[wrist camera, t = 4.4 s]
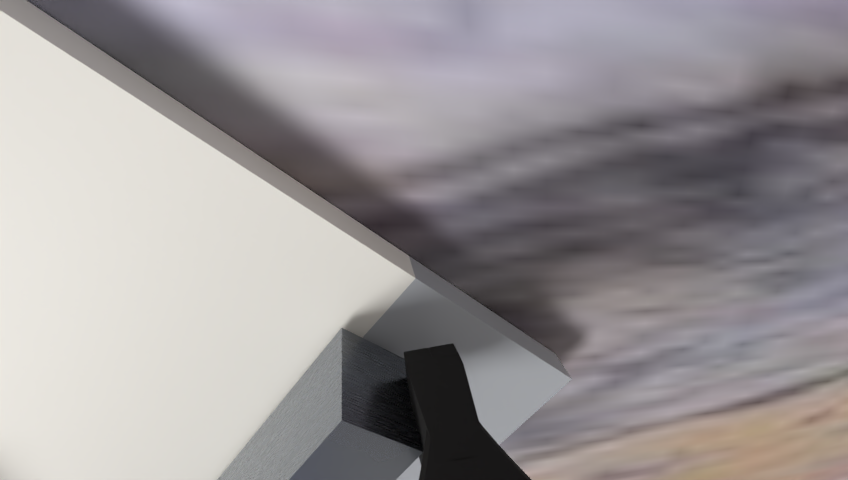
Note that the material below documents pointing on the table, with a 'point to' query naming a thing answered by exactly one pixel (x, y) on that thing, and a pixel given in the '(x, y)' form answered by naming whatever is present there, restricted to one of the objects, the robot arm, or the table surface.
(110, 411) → the door board
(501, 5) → the table surface
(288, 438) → the swing bar
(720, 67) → the table surface
